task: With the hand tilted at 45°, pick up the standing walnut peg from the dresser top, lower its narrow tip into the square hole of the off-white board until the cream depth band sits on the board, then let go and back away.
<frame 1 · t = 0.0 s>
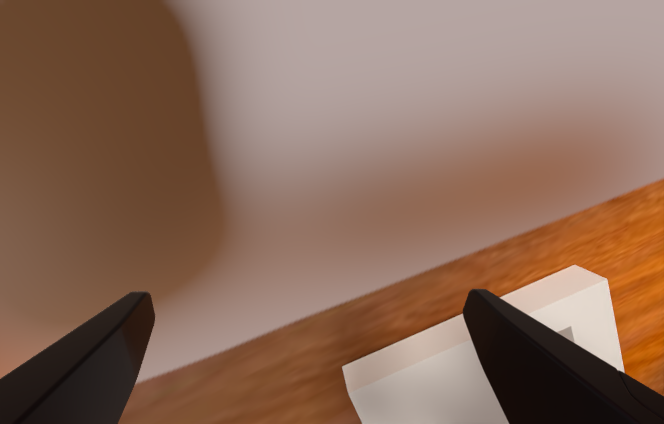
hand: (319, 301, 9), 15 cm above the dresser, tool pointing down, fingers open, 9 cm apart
board: (474, 360, 29), on the dresser
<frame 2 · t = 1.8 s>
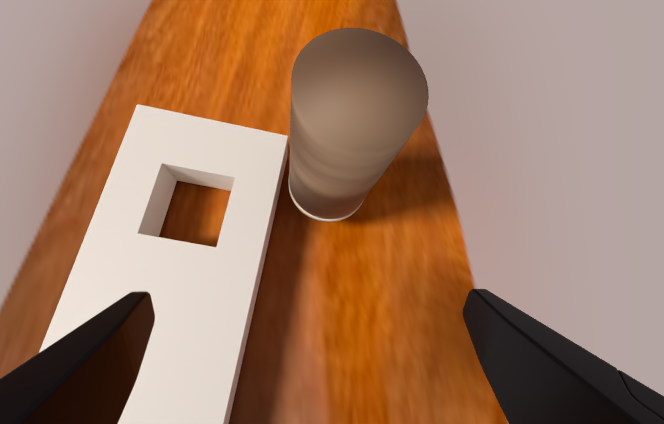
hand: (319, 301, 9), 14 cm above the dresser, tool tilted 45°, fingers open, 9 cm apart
board: (179, 288, 21), on the dresser
peg: (323, 196, 24), on the dresser
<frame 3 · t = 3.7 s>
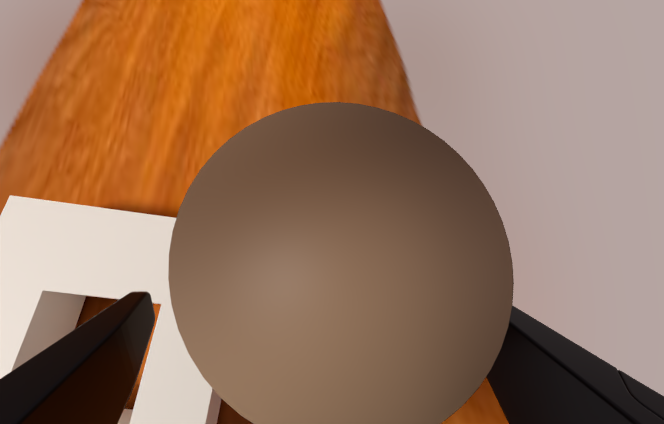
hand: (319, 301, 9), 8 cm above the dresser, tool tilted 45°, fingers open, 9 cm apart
peg: (304, 300, 17), on the dresser
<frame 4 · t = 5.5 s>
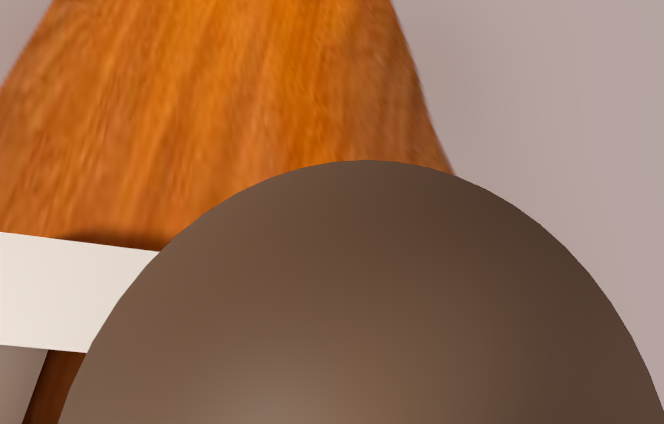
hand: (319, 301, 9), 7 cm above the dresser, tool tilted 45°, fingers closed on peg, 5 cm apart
peg: (305, 339, 15), on the dresser, touching gripper
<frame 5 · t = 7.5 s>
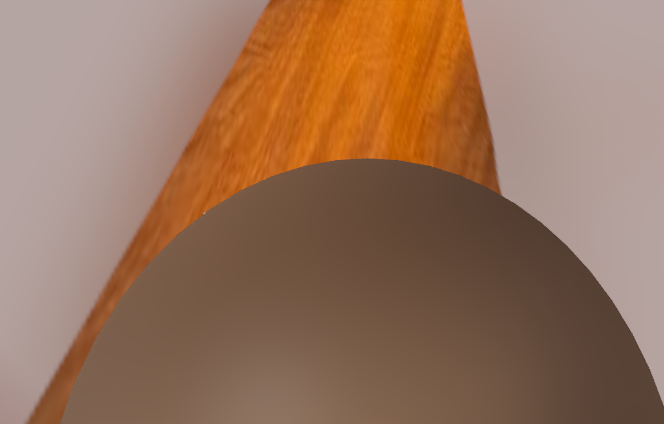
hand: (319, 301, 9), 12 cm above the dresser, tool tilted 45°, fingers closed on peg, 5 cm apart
peg: (306, 339, 15), point 6 cm above the dresser, touching gripper
when the fingers open (8 cm above the dresser, at t = 9.7 s): peg stays where it is, resting on board.
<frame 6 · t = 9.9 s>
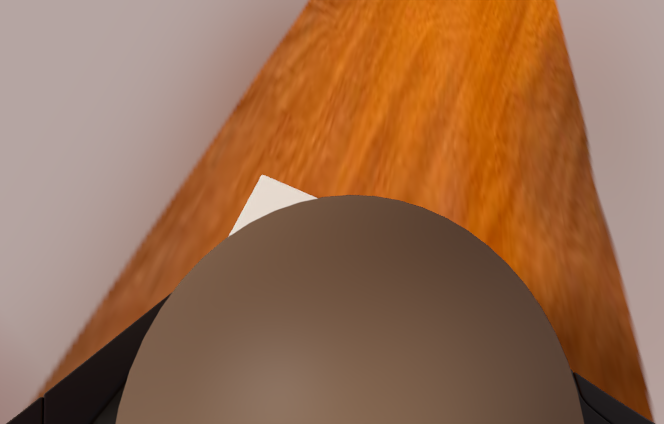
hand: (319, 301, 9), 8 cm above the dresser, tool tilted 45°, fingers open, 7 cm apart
peg: (304, 339, 16), resting on board
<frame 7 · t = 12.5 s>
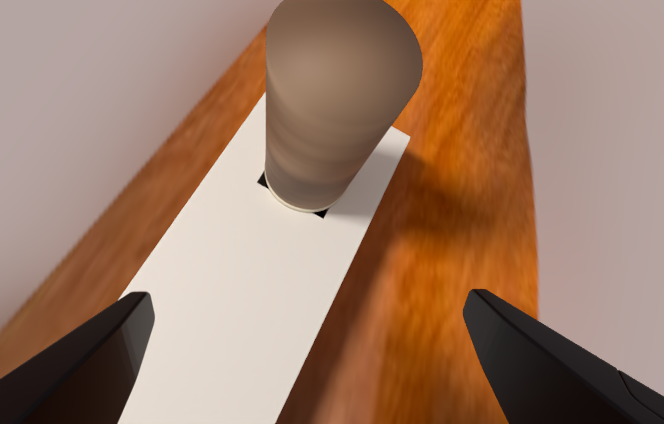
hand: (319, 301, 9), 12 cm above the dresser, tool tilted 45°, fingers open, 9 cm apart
board: (267, 247, 22), on the dresser
peg: (303, 185, 23), resting on board
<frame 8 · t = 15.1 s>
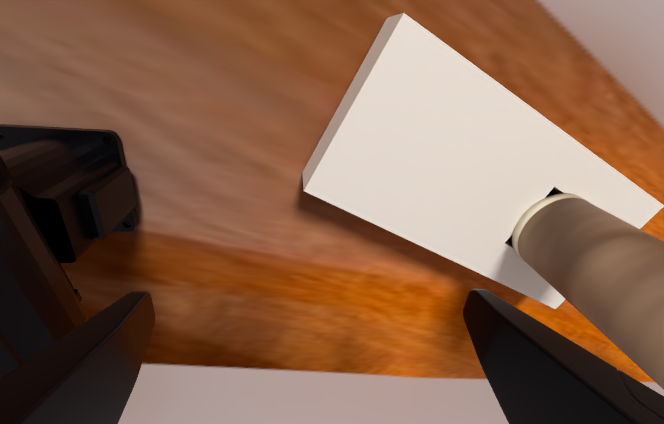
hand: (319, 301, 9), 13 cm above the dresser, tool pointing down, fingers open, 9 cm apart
board: (474, 181, 23), on the dresser
peg: (526, 212, 24), resting on board
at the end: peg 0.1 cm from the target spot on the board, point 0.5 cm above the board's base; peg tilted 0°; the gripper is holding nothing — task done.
